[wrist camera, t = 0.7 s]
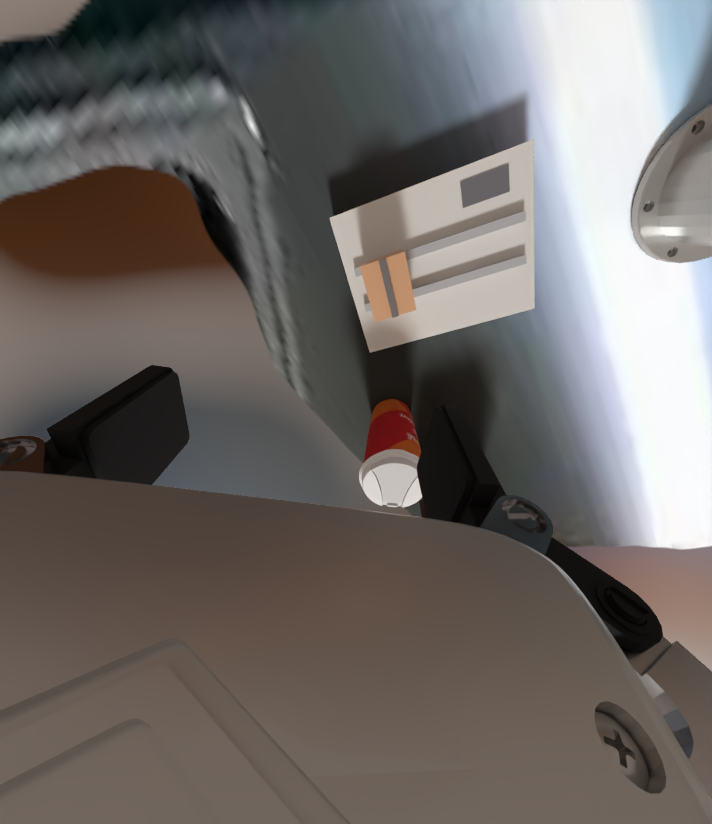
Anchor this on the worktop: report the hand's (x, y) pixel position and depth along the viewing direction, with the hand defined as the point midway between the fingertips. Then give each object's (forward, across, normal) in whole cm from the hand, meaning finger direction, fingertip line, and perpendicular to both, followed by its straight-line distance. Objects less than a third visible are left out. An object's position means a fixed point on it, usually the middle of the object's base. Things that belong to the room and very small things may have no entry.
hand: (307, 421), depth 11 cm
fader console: (+27, -9, -4) cm, 29 cm away
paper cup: (+28, -8, +16) cm, 33 cm away
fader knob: (+24, -4, -2) cm, 25 cm away
